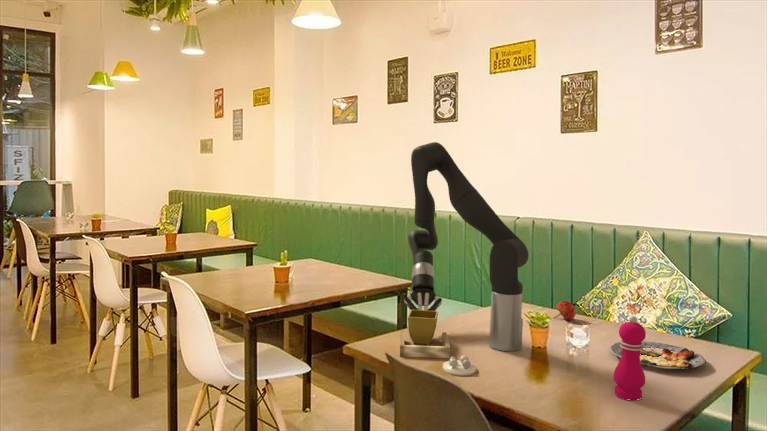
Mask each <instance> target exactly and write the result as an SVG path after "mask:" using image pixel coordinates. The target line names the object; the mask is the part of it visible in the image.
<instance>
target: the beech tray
mask: <svg viewBox="0 0 767 431" xmlns="http://www.w3.org/2000/svg"><path fill="white" fill-rule="evenodd" d="M399 333H400V334H399V335H400V336H399V357H408V358H410V357H411V358H437V359H450V358H451V345H450V341H449V338H448V333H447V332H445V331H443V332H441V333H442V334H441V342H442V343H441V344H442V345H414V344H412V345H411V344H405V330H400V332H399Z"/></svg>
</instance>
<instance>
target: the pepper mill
mask: <svg viewBox="0 0 767 431" xmlns="http://www.w3.org/2000/svg"><path fill="white" fill-rule="evenodd" d="M618 329H619V330H618V334H619V337H620V338H621V340H620V341H619V342H621V344H620V346H621V347H622V355H621V358H619V362H618V363H617V365H616V366H615V369H614V371H613V376H612V378H613V381H614V382H615V384H616V385H614V392H613V393H614V395H615V396H616V397H617V396H618V397H617V398H619V397H621V398H620V399H622V398H624V399H623V400H625V399H630V400H637V399H640V398H641V399H642V398H643V390H642V388H643V387H645V384H646V375H645V371H644V369H643V367H642V364H641V363H640V350H642V349H643V348H642V346H643V344H642V343H641V342H642V341H645V339H646V335H647V334H646V333H647V332H646V329H645V327H644V326H643V325H642V324H640V323H638V318H637V317H636V316H635V315H631V316H629V318H628V321H626V322H623V323H622V324H621V325H620V326H619V328H618ZM641 399H640V400H641ZM630 400H629V401H630ZM637 401H638V400H637Z"/></svg>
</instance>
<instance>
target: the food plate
mask: <svg viewBox="0 0 767 431" xmlns="http://www.w3.org/2000/svg"><path fill="white" fill-rule="evenodd" d="M641 343H642V344H643V346H642V348H651V347H652V348H654V349H655V348H659V349H663V350H662V353H661V354H660V353H659V352H655V351H653V352H652V351H646V350H643V349H642V350H640V354H641V355H647V356H652V357H646V356H641V355H640V363H641V365H646V366H648V367H649V368H651V367H655V368H659V369H665V370H669V371H670V370H675V371H676V370H679V371H680V370H681V371H682V370H694V369H695V370H696V369H698V368H700V367H702V366H704V365H706V363H707V360H706V359H705V358H704V356H703V355H701V354H699V353H696V352H695V351H693V350H692V349H691V350H690V349H688V348H686V347H681V346H675V345H670V344H668V343H660V342H656V341H645V340H643V341H642V342H641ZM620 344H621V342H620V341H619V342H615V343H614V344H612V345H611V346H609V350H610V351H611V353H612V354H614V355H615V356H617V357H619V359H621V355H622V347H621V346H620ZM671 351H673V352H676V353H673V352H671ZM658 353H659V354H658ZM659 356H662V357H663V358H664V359H658V358H653V357H659ZM689 362H690V363H689Z"/></svg>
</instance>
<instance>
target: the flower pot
mask: <svg viewBox="0 0 767 431" xmlns="http://www.w3.org/2000/svg"><path fill="white" fill-rule="evenodd" d="M409 310H410V309H409ZM438 316H439V311H437V310H435V311H426V310H424V309H422V310H410V311H409V314H408V315H407V325H408V329H407V330H408V334H409V337H410V340H411V341H412V343H413V344H420V345H430V344H431V343H432V341H433V338H434V337H435V336H434V335H435V332H436V329H437V323H438V322H437V321H438Z"/></svg>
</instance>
